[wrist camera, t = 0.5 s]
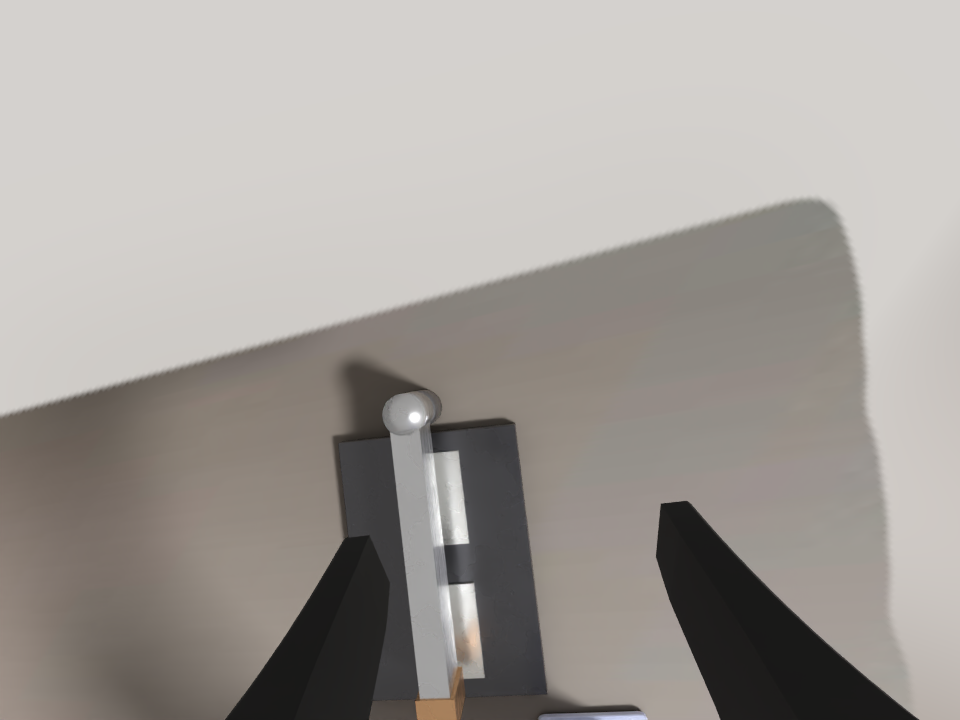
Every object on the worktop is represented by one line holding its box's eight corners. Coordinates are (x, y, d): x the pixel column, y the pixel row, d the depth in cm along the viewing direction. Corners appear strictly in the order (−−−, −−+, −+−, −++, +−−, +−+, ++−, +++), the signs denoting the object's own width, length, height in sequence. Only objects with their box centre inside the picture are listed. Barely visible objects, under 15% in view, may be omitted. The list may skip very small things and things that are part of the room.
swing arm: (466, 695, 32) (459, 731, 28) (428, 696, 32) (417, 732, 29) (431, 389, 32) (420, 391, 29) (394, 393, 33) (379, 396, 30)
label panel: (546, 684, 34) (548, 711, 31) (370, 691, 35) (357, 718, 33) (509, 379, 35) (507, 380, 32) (339, 399, 36) (323, 401, 34)
